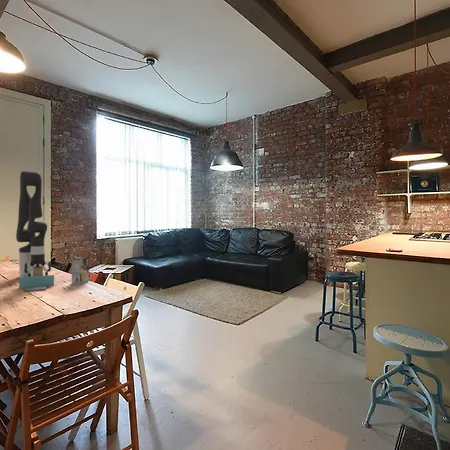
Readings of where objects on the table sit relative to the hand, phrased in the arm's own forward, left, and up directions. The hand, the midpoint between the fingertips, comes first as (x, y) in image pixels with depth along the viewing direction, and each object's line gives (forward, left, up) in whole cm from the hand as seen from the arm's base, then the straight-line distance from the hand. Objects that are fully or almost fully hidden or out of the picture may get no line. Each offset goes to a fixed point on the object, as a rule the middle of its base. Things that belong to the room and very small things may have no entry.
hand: (38, 278), depth 191 cm
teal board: (+8, 0, -3) cm, 9 cm away
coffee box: (+5, +24, -3) cm, 25 cm away
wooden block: (0, 0, -3) cm, 3 cm away
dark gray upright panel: (+15, 0, -3) cm, 15 cm away
